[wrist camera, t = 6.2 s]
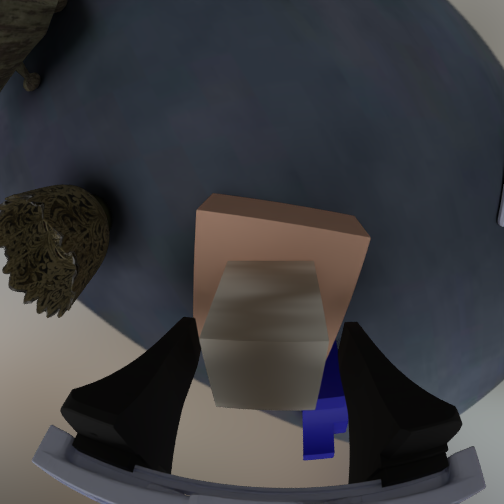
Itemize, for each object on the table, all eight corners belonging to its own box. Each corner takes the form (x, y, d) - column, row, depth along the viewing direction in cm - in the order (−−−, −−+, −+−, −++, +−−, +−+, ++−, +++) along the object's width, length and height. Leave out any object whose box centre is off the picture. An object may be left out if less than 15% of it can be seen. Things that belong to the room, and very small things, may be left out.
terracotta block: (353, 214, 17) (370, 237, 13) (320, 323, 21) (325, 360, 17) (214, 191, 17) (196, 209, 14) (206, 306, 21) (193, 341, 18)
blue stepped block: (342, 410, 26) (348, 455, 21) (302, 414, 27) (303, 460, 21) (352, 335, 21) (367, 392, 16) (299, 341, 22) (301, 400, 16)
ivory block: (313, 260, 14) (328, 341, 9) (308, 327, 16) (315, 409, 11) (227, 260, 15) (199, 338, 9) (234, 326, 17) (216, 406, 11)
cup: (58, 168, 17) (-19, 198, 10) (134, 163, 16) (52, 194, 9) (71, 254, 20) (11, 305, 13) (142, 263, 20) (86, 332, 12)
